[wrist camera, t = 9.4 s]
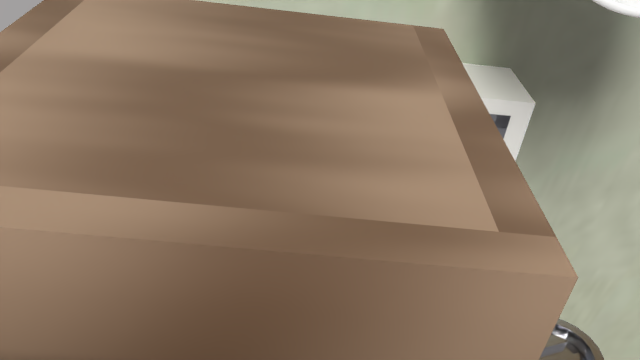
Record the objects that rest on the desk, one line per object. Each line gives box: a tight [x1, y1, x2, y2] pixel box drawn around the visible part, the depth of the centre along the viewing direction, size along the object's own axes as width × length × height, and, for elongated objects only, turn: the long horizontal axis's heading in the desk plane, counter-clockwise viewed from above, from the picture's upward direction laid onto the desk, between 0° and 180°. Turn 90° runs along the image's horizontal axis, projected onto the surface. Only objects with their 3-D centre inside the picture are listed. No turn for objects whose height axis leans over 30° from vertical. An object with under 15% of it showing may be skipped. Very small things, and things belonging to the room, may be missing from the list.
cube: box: [462, 63, 536, 161], centre depth 28 cm, size 4×4×4 cm
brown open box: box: [0, 0, 578, 360], centre depth 10 cm, size 7×7×7 cm
